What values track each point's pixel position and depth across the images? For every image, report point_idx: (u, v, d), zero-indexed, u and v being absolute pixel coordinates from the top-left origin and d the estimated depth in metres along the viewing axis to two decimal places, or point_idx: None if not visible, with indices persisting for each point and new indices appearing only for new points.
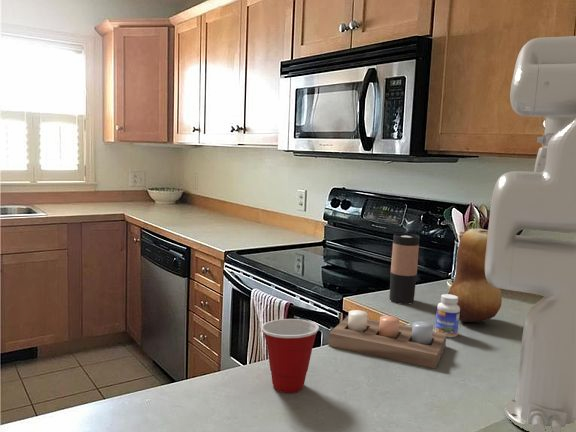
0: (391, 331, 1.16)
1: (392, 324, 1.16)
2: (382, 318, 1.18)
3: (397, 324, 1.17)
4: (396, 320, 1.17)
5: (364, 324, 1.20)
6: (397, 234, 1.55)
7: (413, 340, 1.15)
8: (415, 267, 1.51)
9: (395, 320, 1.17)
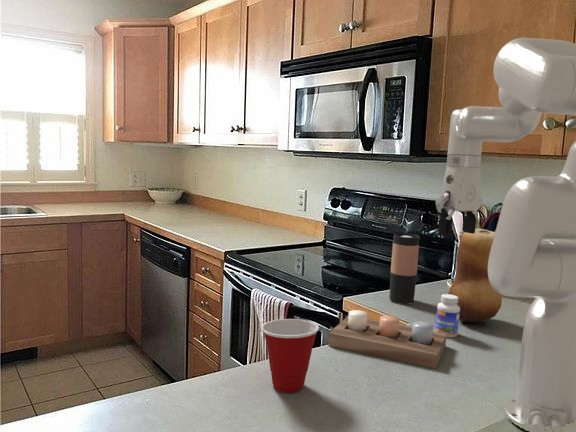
0: (391, 331, 1.16)
1: (392, 324, 1.16)
2: (382, 318, 1.18)
3: (397, 324, 1.17)
4: (396, 320, 1.17)
5: (364, 324, 1.20)
6: (397, 234, 1.55)
7: (413, 340, 1.15)
8: (415, 267, 1.51)
9: (395, 320, 1.17)
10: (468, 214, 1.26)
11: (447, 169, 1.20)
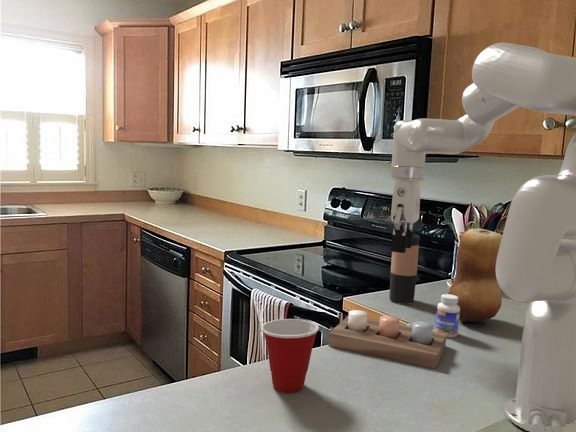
0: (391, 331, 1.16)
1: (392, 324, 1.16)
2: (382, 318, 1.18)
3: (397, 324, 1.17)
4: (396, 320, 1.17)
5: (364, 324, 1.20)
6: None
7: (413, 340, 1.15)
8: (415, 267, 1.51)
9: (395, 320, 1.17)
10: None
11: (397, 181, 1.18)
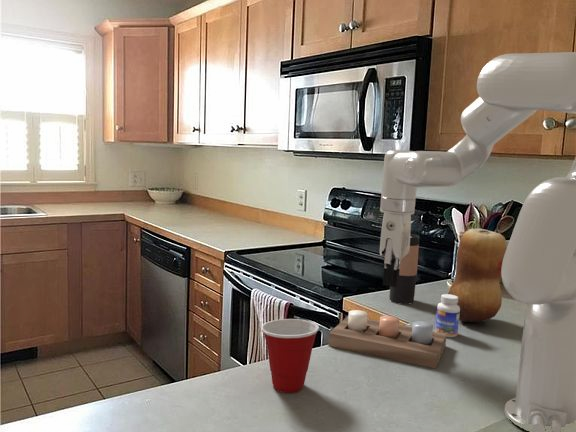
0: (391, 331, 1.16)
1: (392, 324, 1.16)
2: (382, 318, 1.18)
3: (397, 324, 1.17)
4: (396, 320, 1.17)
5: (364, 324, 1.20)
6: None
7: (413, 340, 1.15)
8: (415, 267, 1.51)
9: (395, 320, 1.17)
10: None
11: (386, 214, 1.12)
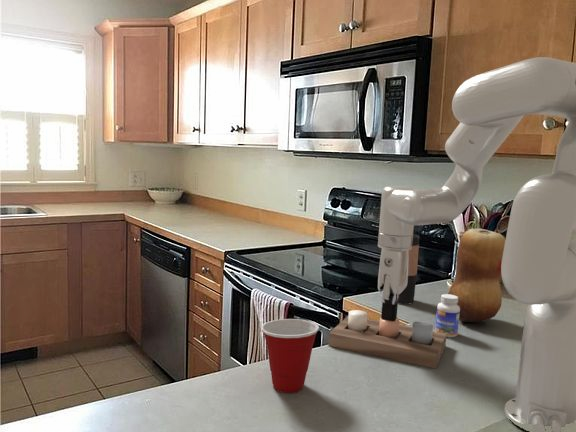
0: (391, 332, 1.17)
1: (392, 325, 1.16)
2: (382, 319, 1.18)
3: (397, 325, 1.17)
4: (396, 321, 1.17)
5: (364, 324, 1.20)
6: None
7: (413, 340, 1.15)
8: (415, 267, 1.51)
9: (395, 321, 1.17)
10: None
11: (384, 250, 1.13)
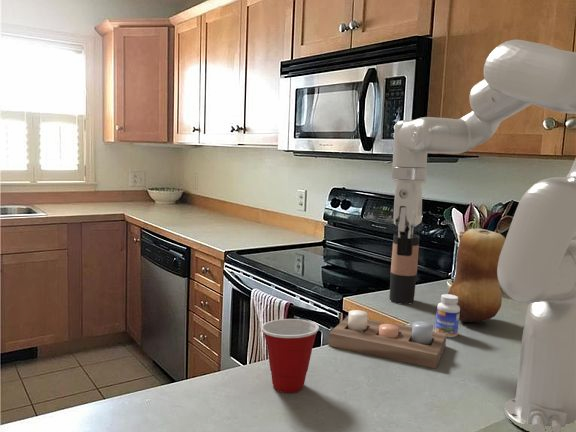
0: None
1: (391, 333, 1.17)
2: (381, 326, 1.19)
3: (396, 332, 1.17)
4: (395, 328, 1.18)
5: (364, 324, 1.20)
6: (397, 234, 1.55)
7: (413, 340, 1.15)
8: (415, 267, 1.51)
9: (394, 328, 1.18)
10: None
11: (398, 183, 1.14)
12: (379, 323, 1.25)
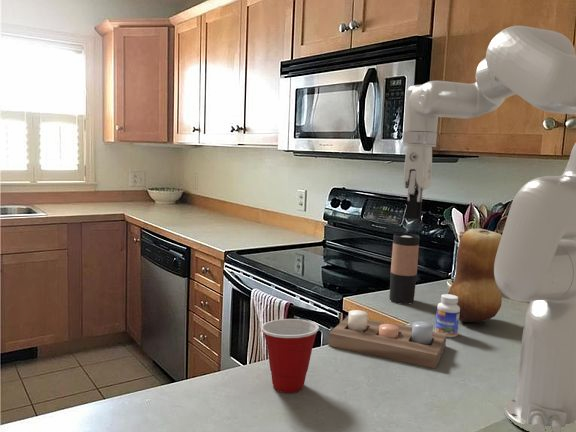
0: None
1: (391, 333, 1.17)
2: (381, 326, 1.19)
3: (396, 332, 1.17)
4: (395, 328, 1.18)
5: (364, 324, 1.20)
6: (397, 234, 1.55)
7: (413, 340, 1.15)
8: (415, 267, 1.51)
9: (394, 328, 1.18)
10: None
11: (409, 146, 1.17)
12: (379, 323, 1.25)
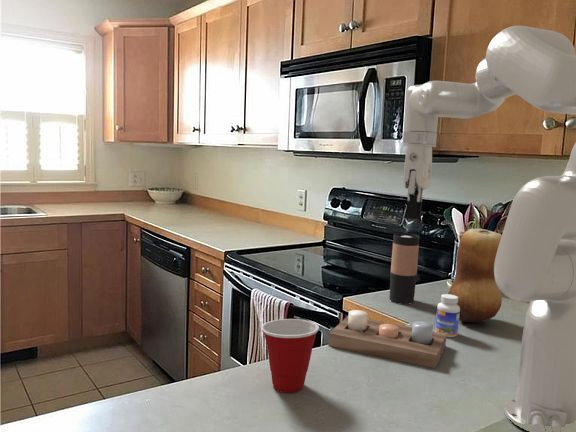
0: None
1: (391, 333, 1.17)
2: (381, 326, 1.19)
3: (396, 332, 1.17)
4: (395, 328, 1.18)
5: (364, 324, 1.20)
6: (397, 234, 1.55)
7: (413, 340, 1.15)
8: (415, 267, 1.51)
9: (394, 328, 1.18)
10: None
11: (409, 146, 1.17)
12: (379, 323, 1.25)
